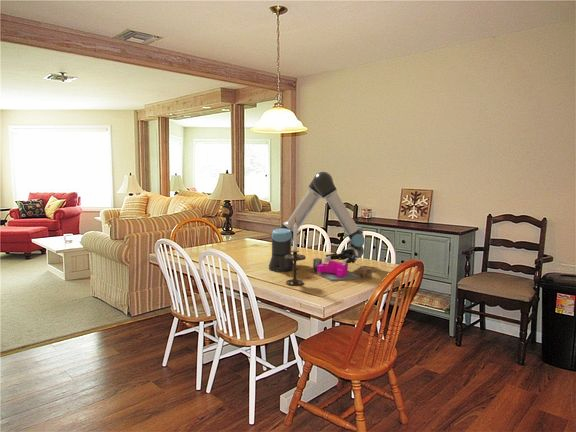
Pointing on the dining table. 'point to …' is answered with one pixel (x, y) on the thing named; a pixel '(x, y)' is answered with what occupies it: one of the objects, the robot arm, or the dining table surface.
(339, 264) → the toy block
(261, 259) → the dining table surface
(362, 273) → the walnut cube
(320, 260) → the metal peg
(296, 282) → the candlestick
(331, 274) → the slate mat
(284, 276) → the dining table surface
